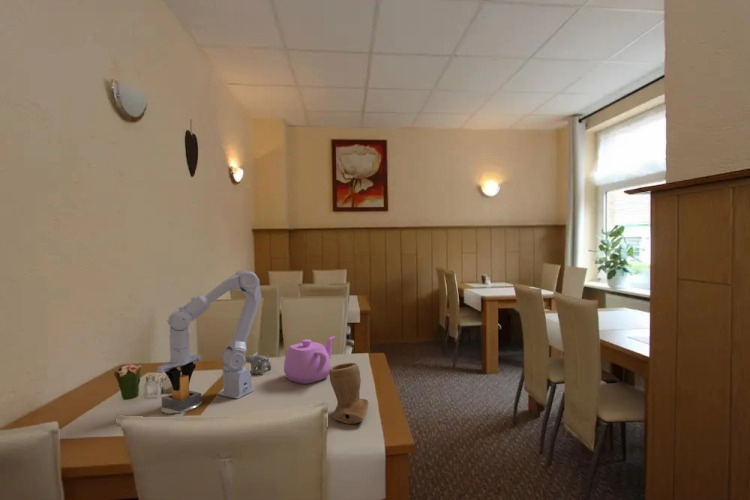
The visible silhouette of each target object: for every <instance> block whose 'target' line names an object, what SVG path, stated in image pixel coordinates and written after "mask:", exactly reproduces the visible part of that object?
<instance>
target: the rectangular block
mask: <svg viewBox="0 0 750 500" xmlns="http://www.w3.org/2000/svg"><path fill="white" fill-rule="evenodd" d="M179 382H180V387H179V390H178V391H175V390H173V387H172V386H171V394H172V398H173V399H177V400H182V399H185V398H187V397H189V391H190V383H189V376H188V375H182V373H181V374H180V381H179Z"/></svg>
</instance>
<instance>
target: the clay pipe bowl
mask: <svg viewBox="0 0 750 500" xmlns="http://www.w3.org/2000/svg"><path fill="white" fill-rule="evenodd" d="M328 376H329V381H330V384H331V387H332V389H333V392H334V395H335V397H336V401H337V405H336V407H335V410H334V412H333V415H332V418H333V419H335V420H337V421H338V422H340V423H344V424H350V425H352V424H354V425H355V424H357V423H361V422H363V421H364V420H365V418H366V415H367V412H368V408H369V399H366V398H365V399H364V398H360V393H361V392H360V391H361V390H360V389H361V381H362V379H361V372H360V367H359V365H358V364H357V363H355V362H346V363H340V364H336V365H334V366H331V369H330V370H329V375H328Z"/></svg>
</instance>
